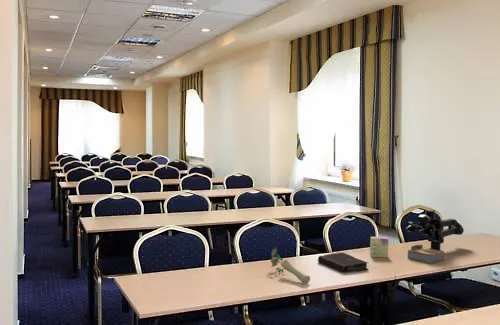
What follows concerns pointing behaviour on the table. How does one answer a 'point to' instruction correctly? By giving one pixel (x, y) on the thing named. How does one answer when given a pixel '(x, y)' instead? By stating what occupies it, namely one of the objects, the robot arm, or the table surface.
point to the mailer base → (425, 257)
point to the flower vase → (289, 268)
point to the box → (379, 247)
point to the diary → (343, 262)
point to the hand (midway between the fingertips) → (412, 230)
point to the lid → (424, 250)
